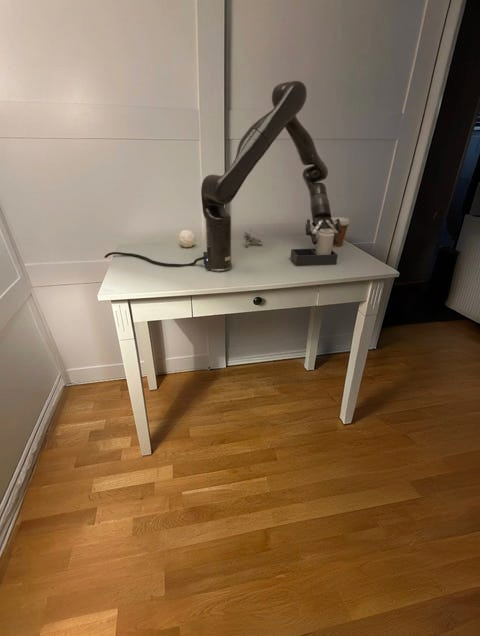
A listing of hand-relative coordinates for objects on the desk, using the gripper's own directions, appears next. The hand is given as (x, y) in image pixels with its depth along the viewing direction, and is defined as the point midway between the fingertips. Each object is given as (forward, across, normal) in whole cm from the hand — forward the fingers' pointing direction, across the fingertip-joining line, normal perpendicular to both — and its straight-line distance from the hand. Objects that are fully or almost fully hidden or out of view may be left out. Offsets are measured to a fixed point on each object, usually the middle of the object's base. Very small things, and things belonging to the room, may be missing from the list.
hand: (325, 243), depth 125 cm
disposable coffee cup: (-10, +14, +21) cm, 27 cm away
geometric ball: (-12, -56, +23) cm, 62 cm away
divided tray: (+5, -4, +6) cm, 9 cm away
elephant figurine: (-12, -26, +23) cm, 37 cm away
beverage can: (+4, 0, +6) cm, 7 cm away
